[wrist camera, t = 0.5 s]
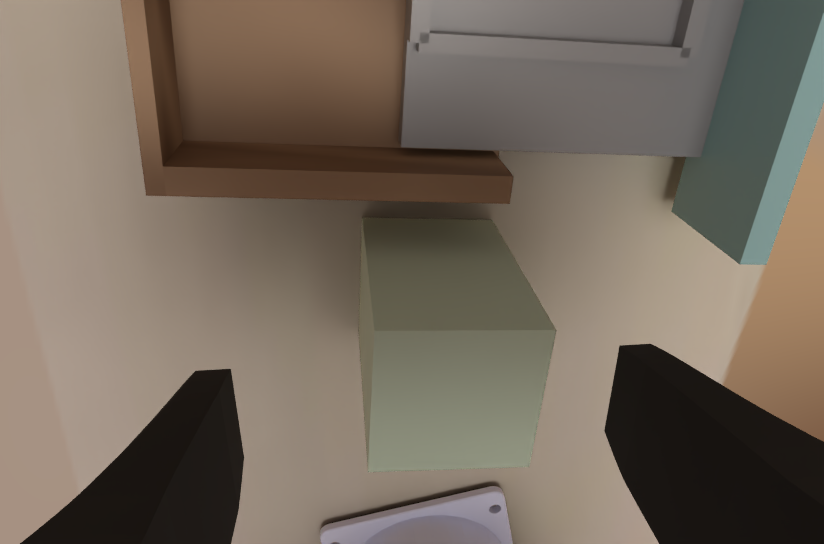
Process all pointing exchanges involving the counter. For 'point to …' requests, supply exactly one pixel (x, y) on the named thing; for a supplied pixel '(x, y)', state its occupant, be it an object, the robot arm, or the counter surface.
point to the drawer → (630, 93)
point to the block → (448, 347)
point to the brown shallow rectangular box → (286, 104)
